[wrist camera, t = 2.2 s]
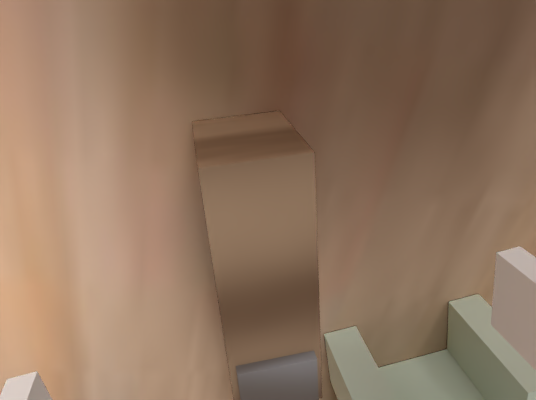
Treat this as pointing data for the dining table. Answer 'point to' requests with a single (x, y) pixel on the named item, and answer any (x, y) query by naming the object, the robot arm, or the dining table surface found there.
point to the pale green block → (436, 364)
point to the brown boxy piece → (263, 252)
